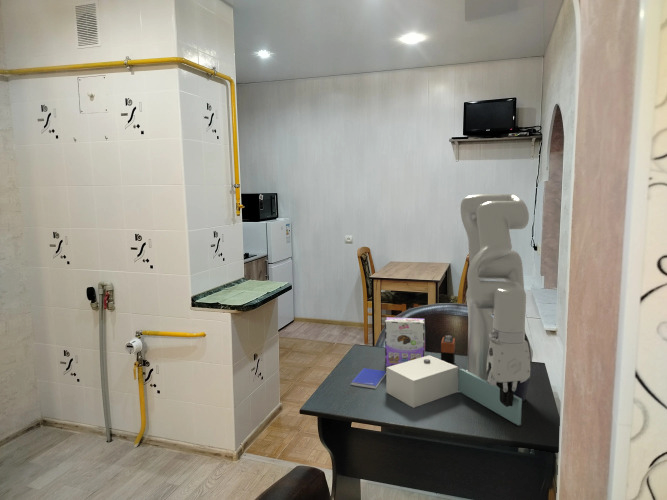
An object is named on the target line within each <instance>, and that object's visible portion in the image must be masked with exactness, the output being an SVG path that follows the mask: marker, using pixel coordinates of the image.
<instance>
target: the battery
mask: <svg viewBox="0 0 667 500" xmlns="http://www.w3.org/2000/svg"><path fill="white" fill-rule="evenodd" d="M455 352H456V338H455V337H453V336H452V335H447V334H446V335H445V336H443V337H442V339H441V342H440V360H442V361H445V362H447V363H450V364H452V365H455V361H456V360H455V359H456V356H455V355H456V353H455Z"/></svg>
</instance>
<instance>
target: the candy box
mask: <svg viewBox="0 0 667 500" xmlns="http://www.w3.org/2000/svg"><path fill="white" fill-rule="evenodd" d="M425 322H426V320H425V318H416V317H415V318H414V317H413V318H412V317H411V318H410V317H389V316H387V317H386V319H385V320H384V366H385V367H390V366H393V365H397V364H400V363H404V362H407V361H411V360H414V359H418V358H421V357H425V355H426V327H425V326H426V325H425V324H426V323H425Z"/></svg>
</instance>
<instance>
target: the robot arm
mask: <svg viewBox="0 0 667 500" xmlns="http://www.w3.org/2000/svg"><path fill="white" fill-rule="evenodd" d="M460 202H461V203H460V217H461V222H462V225H463V227H464V230H465V232H466V235H467V239H468V242H467V243H468V261H469V262H468V264H469V265H468V268H467V274H466V279H467V289H466V293H465V296H466V297H465V299H466V304H467V305H466V307H467V315H468V320H467V321H468V326H467V327H468V330H467V335H468V336H467V369H465V370H466V371H468V372H470V373H472V374H474V375H476V376H478V377H480V378H482V379H484V380H486V381H487V382H488V383H489V384H490V385H495V386H498V388H500V402H501V403H502V404H503V405H505V406H506V407H509V406H513V396H514V391H515V390H516V387H517V386H518V385H519V383H521V382H524V381H526V380H527V379H528V378H529V377H530V378H531V358H530V357H531V356H530V355H531V354H530V348H529V344H528V341H527V340H525V339H526V338H525V337H526V336H525V334H526V311H527V310H526V304H527V293H526V291H525V281H524V269H523V261H522V257H521V256H520V254H519V252H518V251H515V250H512V248H513V245H512V244H513V243H512V239H511V233H510V230H523V229H525V228H526V227H527V226H528V224H529V219H530V214H529V210H528V209H529V208H528V207H527V205H526V203H525V202H524V200H522V199H521V198H520V197H518V196H517V195H516V194H513V193H511V194H510V193H497V194H494V193H493V194H491V193H488V194H487V193H486V194H485V193H484V194H483V193H482V194H471V195H467V196H465V197H464V198H463V199H462V201H460ZM500 280H501V281H500ZM502 280H503V281H502ZM492 315H493V316H492ZM530 378H529V379H530Z"/></svg>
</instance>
